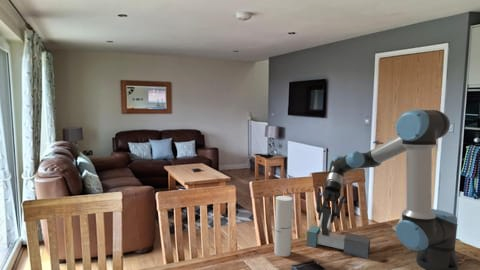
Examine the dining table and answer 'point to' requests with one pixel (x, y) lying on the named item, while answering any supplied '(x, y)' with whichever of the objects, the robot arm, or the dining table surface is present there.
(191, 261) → the dining table surface
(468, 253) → the dining table surface
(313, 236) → the socket block
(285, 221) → the cylindrical container
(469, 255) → the dining table surface
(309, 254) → the dining table surface
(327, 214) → the gray bar with post
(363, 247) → the matte charcoal box
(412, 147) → the robot arm
